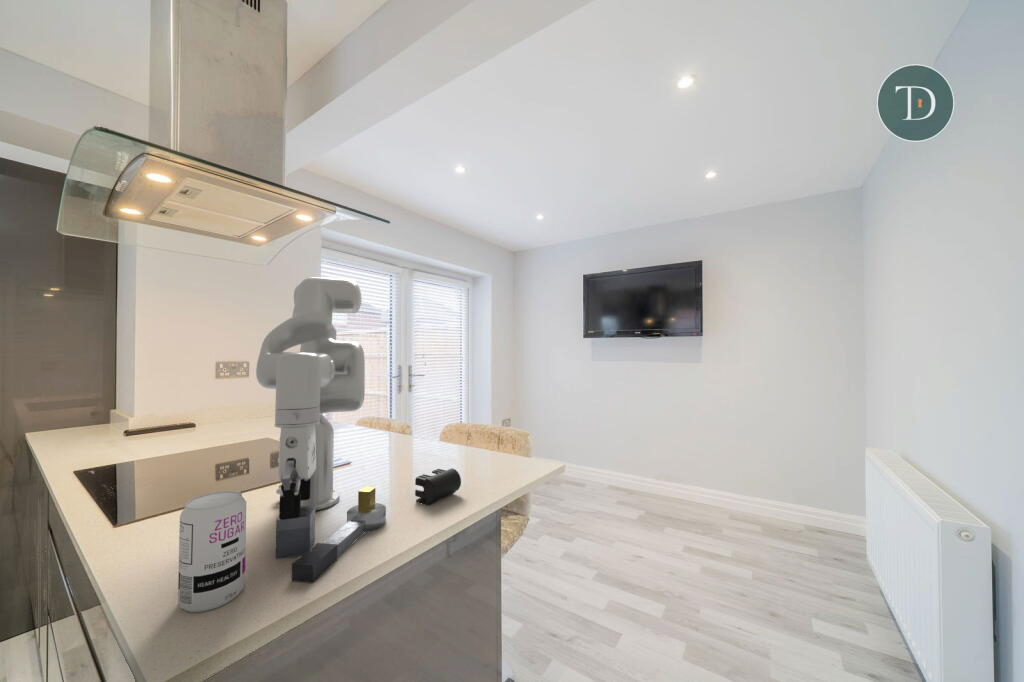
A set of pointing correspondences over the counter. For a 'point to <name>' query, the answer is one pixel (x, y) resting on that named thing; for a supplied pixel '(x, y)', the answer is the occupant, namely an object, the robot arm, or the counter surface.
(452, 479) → the end cap
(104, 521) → the counter surface
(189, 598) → the supplement can
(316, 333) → the robot arm
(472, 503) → the counter surface
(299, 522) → the socket
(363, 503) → the ratchet
